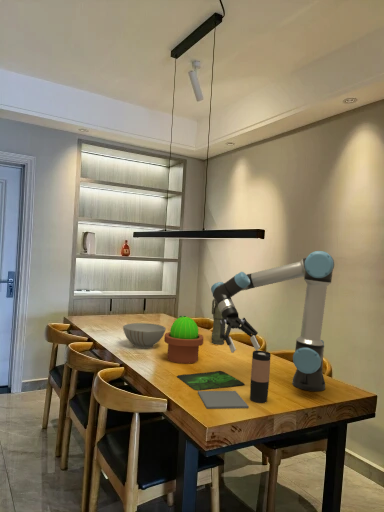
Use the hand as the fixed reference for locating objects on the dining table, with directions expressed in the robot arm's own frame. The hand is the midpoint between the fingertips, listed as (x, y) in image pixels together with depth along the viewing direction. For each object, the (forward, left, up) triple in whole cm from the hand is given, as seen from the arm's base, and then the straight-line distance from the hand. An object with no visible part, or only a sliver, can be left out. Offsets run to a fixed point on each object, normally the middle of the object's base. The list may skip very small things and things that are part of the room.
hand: (246, 350), depth 171 cm
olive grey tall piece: (-14, -94, -19) cm, 97 cm away
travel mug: (-4, +9, -19) cm, 21 cm away
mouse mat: (+11, -16, -19) cm, 28 cm away
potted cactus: (+18, -52, -19) cm, 58 cm away
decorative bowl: (+38, -82, -19) cm, 92 cm away
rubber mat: (+12, +9, -19) cm, 24 cm away
